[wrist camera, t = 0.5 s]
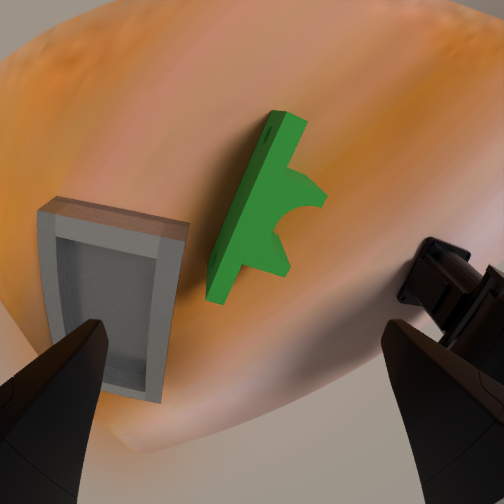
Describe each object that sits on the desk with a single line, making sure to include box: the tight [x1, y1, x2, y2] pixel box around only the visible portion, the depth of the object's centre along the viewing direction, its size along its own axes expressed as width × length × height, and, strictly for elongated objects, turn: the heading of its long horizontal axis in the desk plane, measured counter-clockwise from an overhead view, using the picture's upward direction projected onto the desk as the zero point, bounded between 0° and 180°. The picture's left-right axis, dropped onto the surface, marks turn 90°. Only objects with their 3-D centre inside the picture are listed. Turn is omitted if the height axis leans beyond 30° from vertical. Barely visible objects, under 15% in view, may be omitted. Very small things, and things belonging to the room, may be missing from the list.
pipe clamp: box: [205, 110, 328, 305], centre depth 17 cm, size 11×4×5 cm, turn 157°
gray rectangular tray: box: [37, 196, 190, 404], centre depth 21 cm, size 10×17×3 cm, turn 164°
